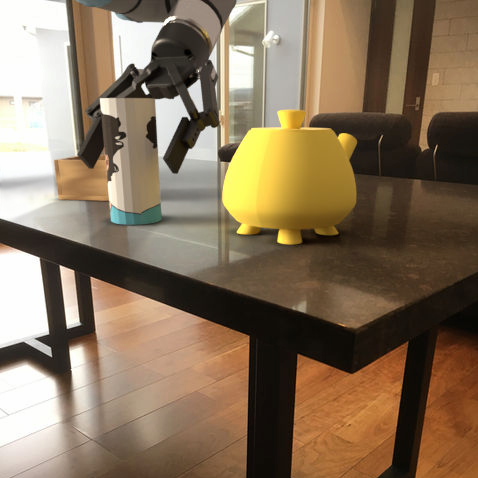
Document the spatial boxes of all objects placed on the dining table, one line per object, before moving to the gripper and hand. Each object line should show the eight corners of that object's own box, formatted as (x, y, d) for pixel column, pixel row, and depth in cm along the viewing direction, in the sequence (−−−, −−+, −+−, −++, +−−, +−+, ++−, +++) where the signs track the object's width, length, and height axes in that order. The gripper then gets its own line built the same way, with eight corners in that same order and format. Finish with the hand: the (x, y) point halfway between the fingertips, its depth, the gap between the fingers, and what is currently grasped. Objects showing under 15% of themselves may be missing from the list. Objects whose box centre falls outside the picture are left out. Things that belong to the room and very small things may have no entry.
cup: (162, 214, 73) (156, 99, 68) (160, 224, 67) (153, 98, 61) (114, 215, 73) (103, 99, 67) (107, 225, 66) (95, 97, 61)
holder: (58, 199, 86) (53, 159, 83) (86, 190, 96) (82, 154, 93) (121, 201, 84) (118, 160, 82) (143, 191, 94) (140, 155, 92)
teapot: (303, 211, 76) (308, 109, 70) (398, 227, 65) (412, 109, 60) (196, 231, 63) (192, 109, 58) (293, 255, 52) (299, 109, 47)
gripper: (274, 62, 70) (221, 188, 64) (128, 69, 81) (70, 178, 74) (257, 11, 64) (197, 145, 57) (102, 26, 75) (35, 140, 68)
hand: (125, 164), depth 66 cm, fingers open, 13 cm apart
